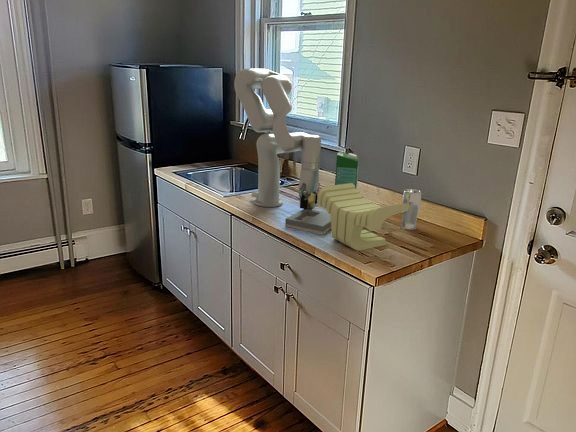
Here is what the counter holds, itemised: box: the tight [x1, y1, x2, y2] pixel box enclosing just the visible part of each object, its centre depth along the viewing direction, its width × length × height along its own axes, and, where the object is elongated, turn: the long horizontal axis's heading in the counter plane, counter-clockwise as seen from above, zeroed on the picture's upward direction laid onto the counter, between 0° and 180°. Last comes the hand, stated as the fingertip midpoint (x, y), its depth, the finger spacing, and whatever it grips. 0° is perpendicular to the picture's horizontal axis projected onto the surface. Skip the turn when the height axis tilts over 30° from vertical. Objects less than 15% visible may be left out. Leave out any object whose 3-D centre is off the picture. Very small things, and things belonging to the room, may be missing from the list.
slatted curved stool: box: [316, 183, 409, 251], centre depth 169 cm, size 30×16×18 cm, turn 31°
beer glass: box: [400, 188, 422, 231], centre depth 187 cm, size 7×7×15 cm
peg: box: [304, 193, 316, 210], centre depth 201 cm, size 5×5×9 cm
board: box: [284, 209, 332, 235], centre depth 188 cm, size 16×16×3 cm
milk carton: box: [334, 150, 360, 189], centre depth 207 cm, size 9×9×25 cm
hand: (308, 205), depth 201 cm, fingers open, 8 cm apart
